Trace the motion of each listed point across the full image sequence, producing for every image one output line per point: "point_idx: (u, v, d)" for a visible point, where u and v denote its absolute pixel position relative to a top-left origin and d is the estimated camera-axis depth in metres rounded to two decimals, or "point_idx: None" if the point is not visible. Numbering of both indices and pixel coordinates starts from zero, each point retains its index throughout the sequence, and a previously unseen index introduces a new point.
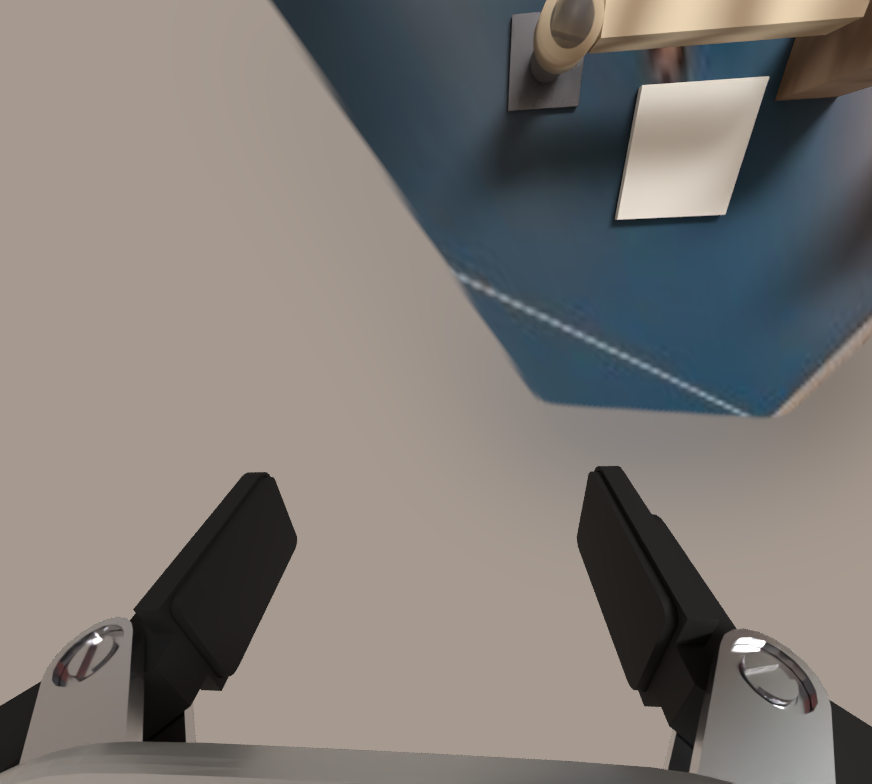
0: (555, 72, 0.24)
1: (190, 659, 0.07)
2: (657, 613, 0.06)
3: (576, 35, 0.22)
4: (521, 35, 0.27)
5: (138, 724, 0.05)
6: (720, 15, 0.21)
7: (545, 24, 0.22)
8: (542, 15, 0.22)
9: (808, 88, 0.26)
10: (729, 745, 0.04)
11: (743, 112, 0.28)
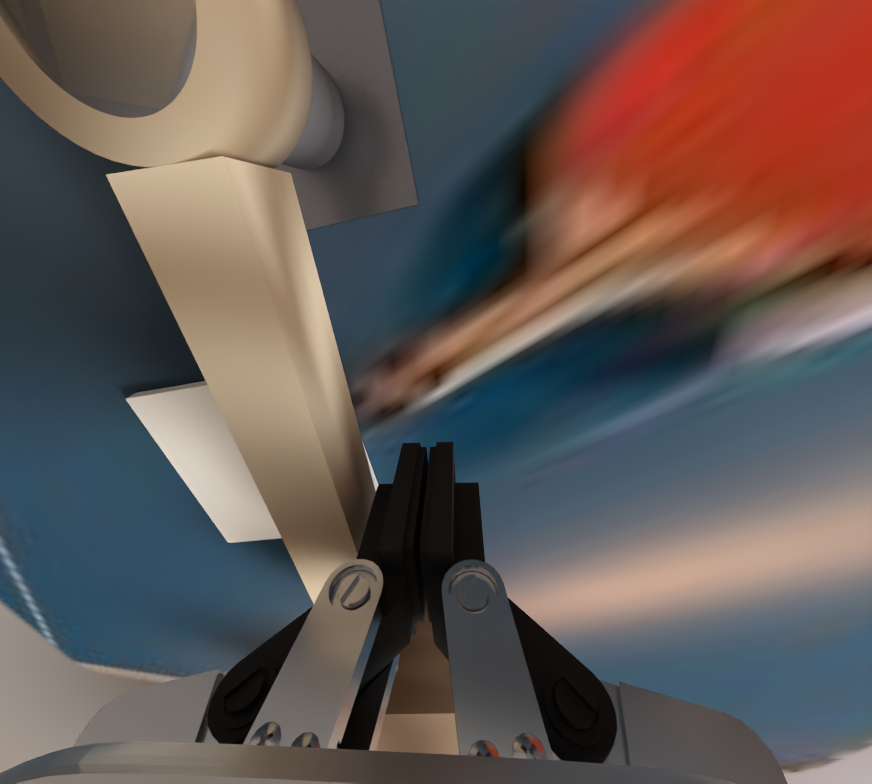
0: None
1: (408, 601, 0.08)
2: None
3: (52, 35, 0.05)
4: (332, 1, 0.09)
5: (352, 698, 0.05)
6: (287, 503, 0.09)
7: None
8: None
9: None
10: (467, 675, 0.05)
11: None
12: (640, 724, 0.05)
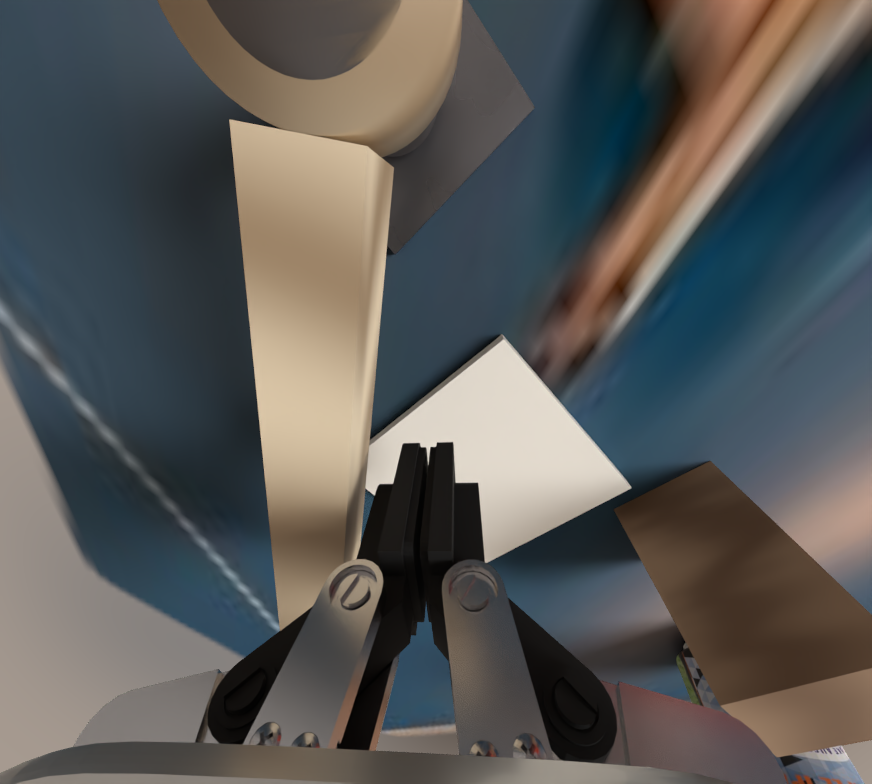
0: None
1: (408, 600, 0.08)
2: None
3: None
4: None
5: (352, 698, 0.05)
6: (290, 493, 0.08)
7: None
8: None
9: (643, 562, 0.15)
10: (467, 675, 0.05)
11: (577, 496, 0.16)
12: (640, 724, 0.05)
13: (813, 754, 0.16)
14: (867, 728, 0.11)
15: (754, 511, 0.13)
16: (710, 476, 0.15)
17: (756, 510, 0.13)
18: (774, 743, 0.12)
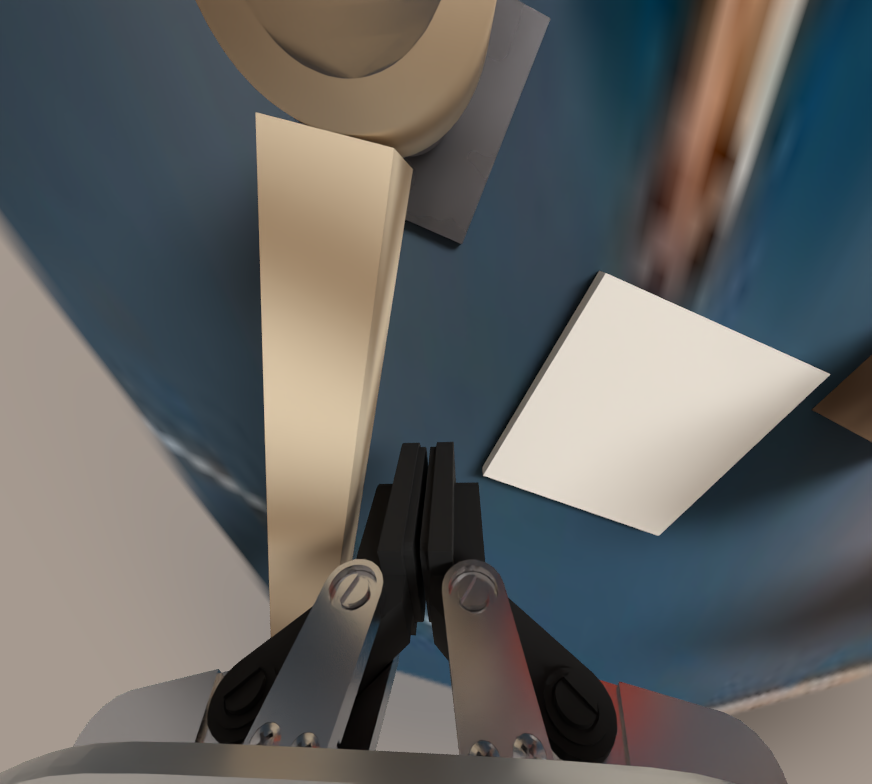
0: None
1: (408, 600, 0.08)
2: None
3: None
4: None
5: (352, 697, 0.05)
6: (291, 490, 0.08)
7: None
8: None
9: None
10: (468, 675, 0.05)
11: (759, 409, 0.14)
12: (640, 724, 0.05)
13: None
14: None
15: None
16: None
17: None
18: None
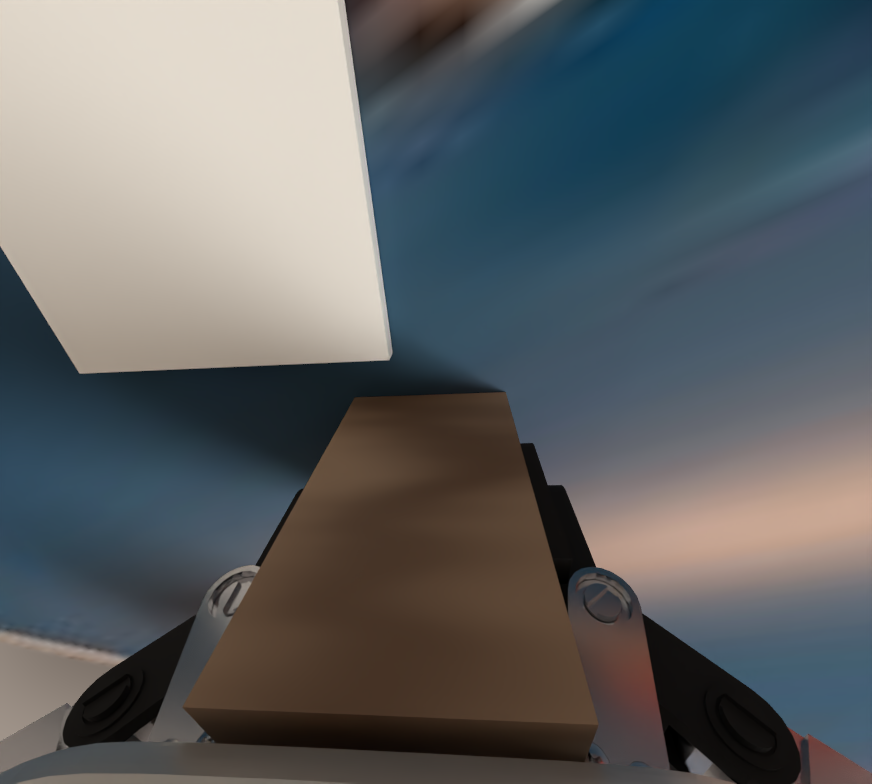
0: None
1: None
2: None
3: None
4: None
5: None
6: None
7: None
8: None
9: (324, 456, 0.09)
10: (585, 676, 0.05)
11: (306, 324, 0.09)
12: None
13: None
14: None
15: (512, 448, 0.08)
16: (491, 404, 0.10)
17: (515, 448, 0.08)
18: None
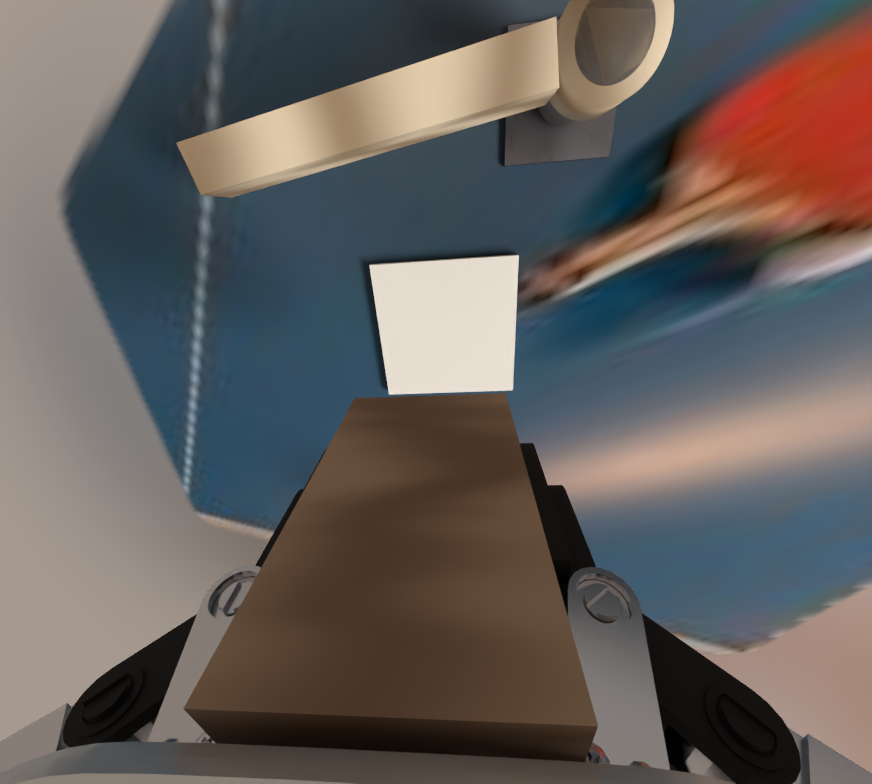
0: None
1: None
2: None
3: (602, 9, 0.12)
4: None
5: None
6: (370, 99, 0.13)
7: (664, 14, 0.12)
8: (669, 30, 0.12)
9: (324, 457, 0.09)
10: (585, 677, 0.05)
11: (484, 377, 0.26)
12: None
13: None
14: None
15: (511, 449, 0.08)
16: (491, 405, 0.10)
17: (515, 449, 0.08)
18: None
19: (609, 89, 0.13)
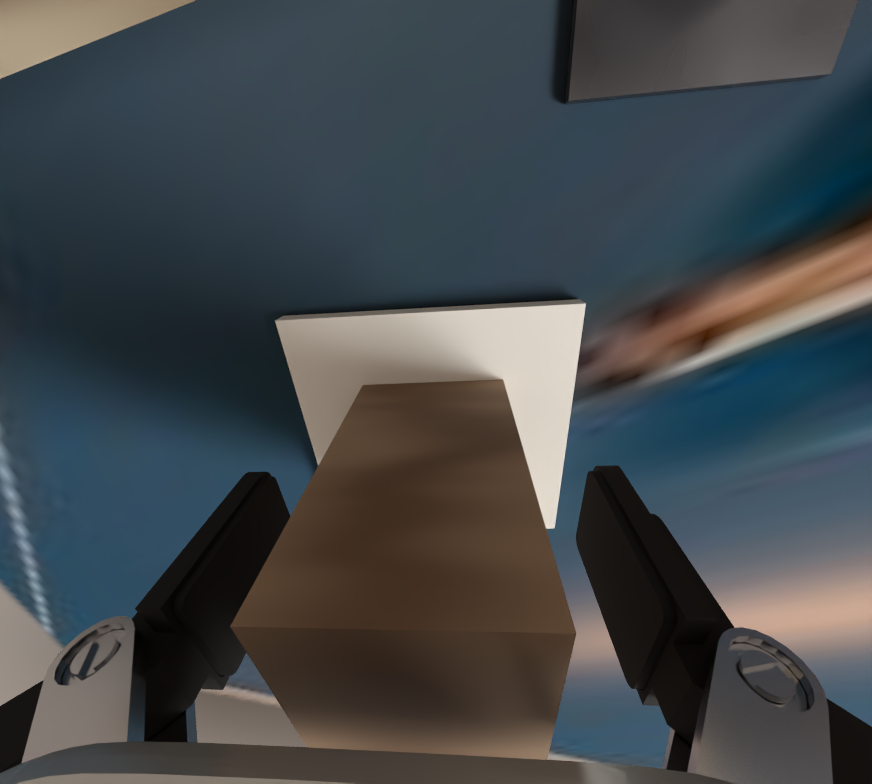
0: None
1: (191, 658, 0.07)
2: (655, 612, 0.06)
3: None
4: None
5: (140, 723, 0.05)
6: None
7: None
8: None
9: (337, 435, 0.09)
10: (727, 744, 0.04)
11: None
12: None
13: None
14: (445, 742, 0.07)
15: (508, 427, 0.09)
16: (490, 390, 0.11)
17: (511, 427, 0.09)
18: (312, 730, 0.07)
19: None
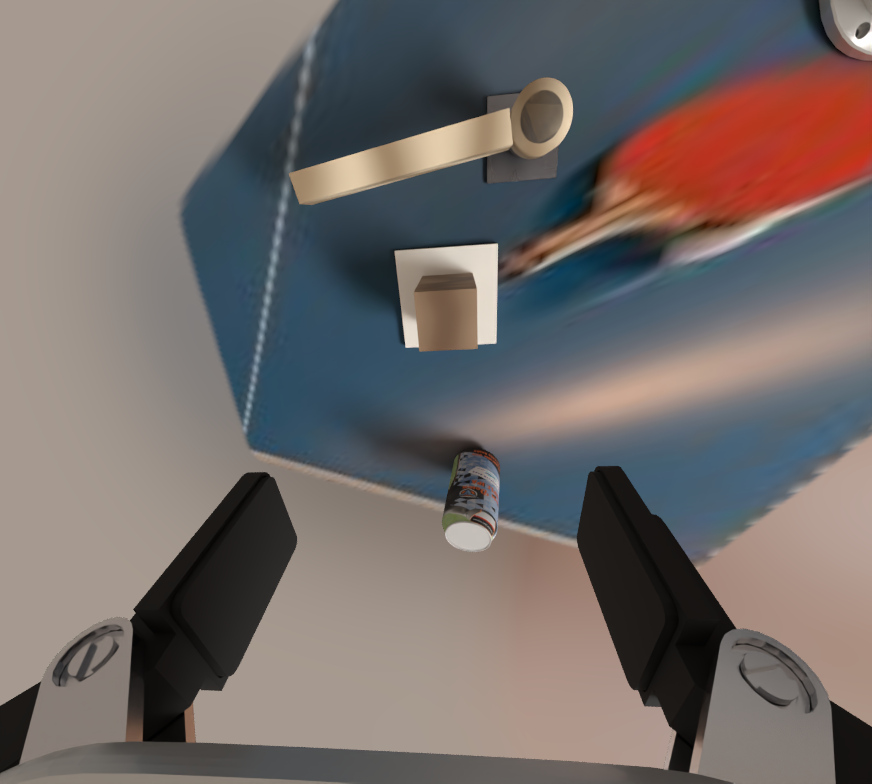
0: None
1: (190, 659, 0.07)
2: (657, 613, 0.06)
3: (534, 104, 0.22)
4: None
5: (138, 724, 0.05)
6: (405, 149, 0.23)
7: (567, 107, 0.22)
8: (571, 115, 0.22)
9: (420, 281, 0.31)
10: (730, 745, 0.04)
11: None
12: None
13: (489, 480, 0.39)
14: (453, 338, 0.28)
15: (471, 277, 0.31)
16: (467, 274, 0.33)
17: (472, 277, 0.31)
18: (421, 337, 0.28)
19: (541, 145, 0.23)
